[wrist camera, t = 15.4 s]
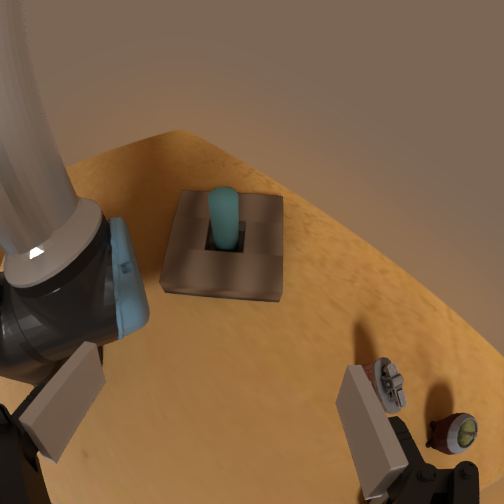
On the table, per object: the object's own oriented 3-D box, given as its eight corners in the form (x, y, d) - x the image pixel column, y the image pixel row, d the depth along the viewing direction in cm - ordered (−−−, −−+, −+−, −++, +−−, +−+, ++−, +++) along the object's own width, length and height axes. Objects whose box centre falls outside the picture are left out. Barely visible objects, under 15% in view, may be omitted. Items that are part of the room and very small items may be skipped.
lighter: (349, 370, 38) (378, 358, 30) (368, 363, 39) (399, 349, 30) (363, 417, 35) (396, 417, 26) (382, 408, 35) (417, 406, 26)
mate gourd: (456, 432, 31) (517, 426, 18) (428, 463, 29) (489, 470, 16) (440, 405, 35) (502, 393, 22) (411, 437, 32) (473, 438, 19)
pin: (213, 255, 46) (205, 208, 36) (216, 234, 48) (210, 185, 38) (237, 256, 46) (237, 210, 36) (239, 236, 48) (239, 187, 38)
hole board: (165, 292, 44) (158, 282, 40) (185, 204, 53) (181, 190, 49) (278, 302, 44) (282, 292, 40) (280, 210, 53) (282, 196, 49)
